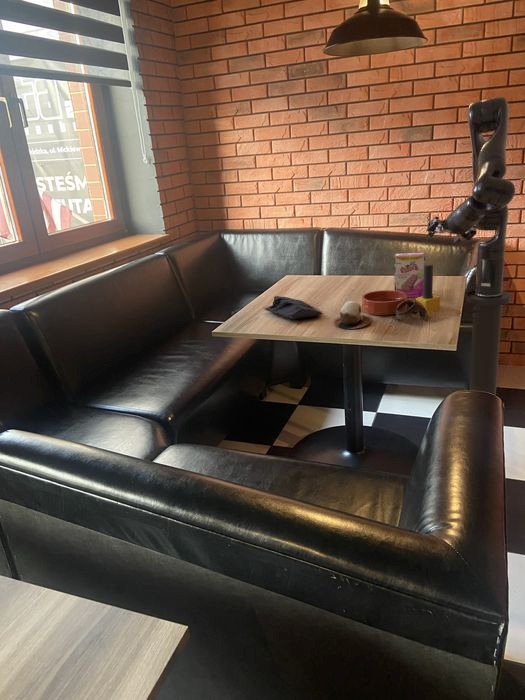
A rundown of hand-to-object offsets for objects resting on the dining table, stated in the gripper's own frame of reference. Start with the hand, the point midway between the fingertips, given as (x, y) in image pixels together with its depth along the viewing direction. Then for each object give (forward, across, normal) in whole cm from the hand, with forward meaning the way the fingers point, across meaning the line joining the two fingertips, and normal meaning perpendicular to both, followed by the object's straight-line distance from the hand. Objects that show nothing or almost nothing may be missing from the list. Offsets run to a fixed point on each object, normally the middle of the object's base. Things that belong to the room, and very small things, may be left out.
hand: (442, 237), depth 175 cm
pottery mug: (+8, +3, +27) cm, 28 cm away
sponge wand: (+15, -4, +20) cm, 26 cm away
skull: (+12, +22, +32) cm, 40 cm away
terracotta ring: (+21, +9, +21) cm, 31 cm away
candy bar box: (+31, -2, +11) cm, 33 cm away
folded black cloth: (+30, +40, +28) cm, 57 cm away
